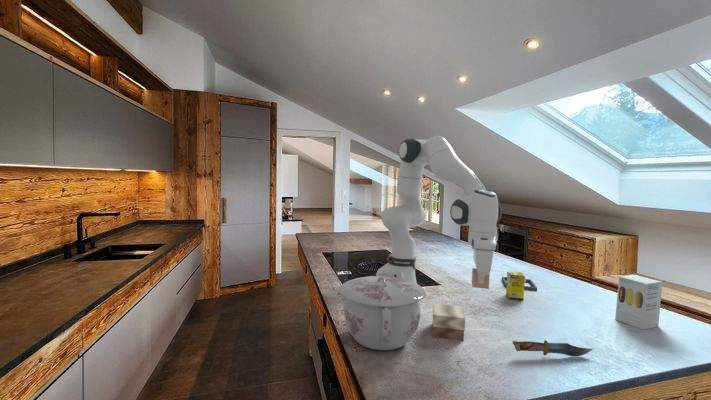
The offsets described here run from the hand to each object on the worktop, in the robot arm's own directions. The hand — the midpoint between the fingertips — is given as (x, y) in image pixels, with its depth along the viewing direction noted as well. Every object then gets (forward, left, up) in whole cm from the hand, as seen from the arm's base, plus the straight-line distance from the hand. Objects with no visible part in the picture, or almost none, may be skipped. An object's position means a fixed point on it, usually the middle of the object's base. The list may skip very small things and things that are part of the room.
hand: (480, 280), depth 110 cm
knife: (+20, -8, -19) cm, 29 cm away
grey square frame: (+23, +62, -19) cm, 69 cm away
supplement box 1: (+18, +42, -19) cm, 50 cm away
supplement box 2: (+57, +28, -19) cm, 66 cm away
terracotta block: (0, 0, -2) cm, 2 cm away
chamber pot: (-30, -15, -19) cm, 39 cm away
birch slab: (-10, -2, -15) cm, 18 cm away
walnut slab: (-10, -2, -19) cm, 22 cm away
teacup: (+22, +61, -19) cm, 68 cm away
